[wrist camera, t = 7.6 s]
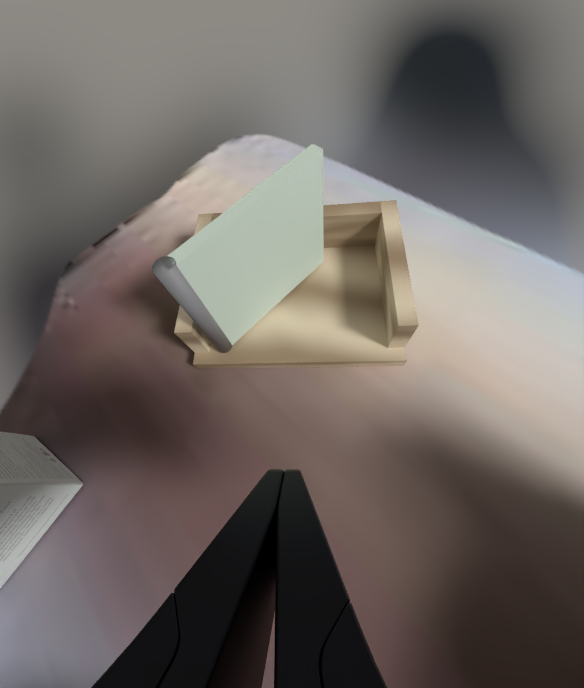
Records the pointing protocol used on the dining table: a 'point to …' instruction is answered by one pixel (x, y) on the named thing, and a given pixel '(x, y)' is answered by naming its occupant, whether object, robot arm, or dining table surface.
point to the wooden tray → (330, 302)
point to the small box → (29, 496)
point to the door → (251, 252)
